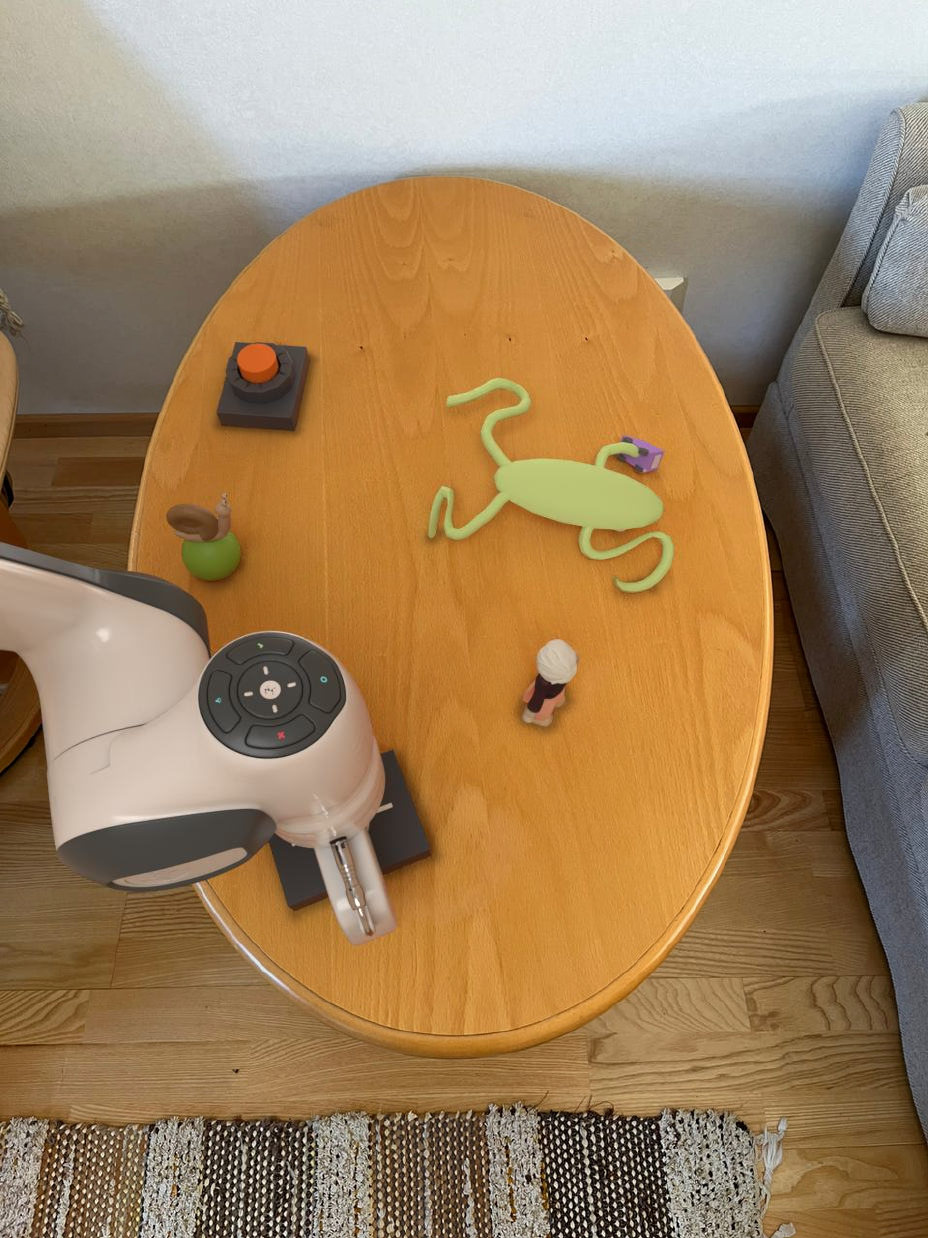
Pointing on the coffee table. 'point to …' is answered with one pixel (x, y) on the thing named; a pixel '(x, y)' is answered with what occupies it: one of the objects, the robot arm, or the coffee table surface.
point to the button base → (265, 391)
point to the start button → (257, 363)
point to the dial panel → (389, 832)
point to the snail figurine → (206, 539)
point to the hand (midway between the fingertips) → (342, 823)
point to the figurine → (567, 489)
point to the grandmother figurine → (549, 682)
